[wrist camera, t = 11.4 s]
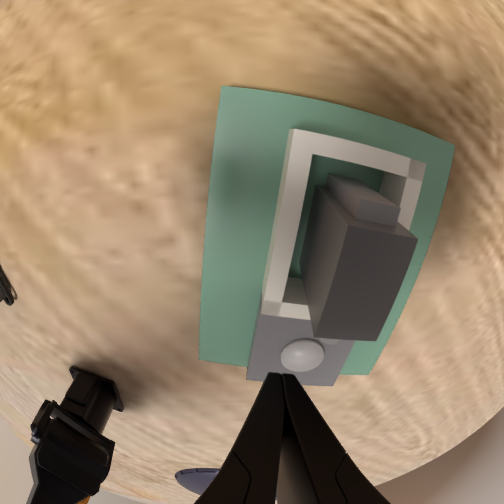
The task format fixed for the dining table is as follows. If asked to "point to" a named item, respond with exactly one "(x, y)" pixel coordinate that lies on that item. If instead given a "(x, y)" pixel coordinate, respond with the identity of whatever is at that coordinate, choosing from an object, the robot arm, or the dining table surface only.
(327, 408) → the dining table surface
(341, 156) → the board
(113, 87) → the dining table surface
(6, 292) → the walkie-talkie
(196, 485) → the toy spaceship
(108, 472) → the robot arm
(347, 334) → the plug
